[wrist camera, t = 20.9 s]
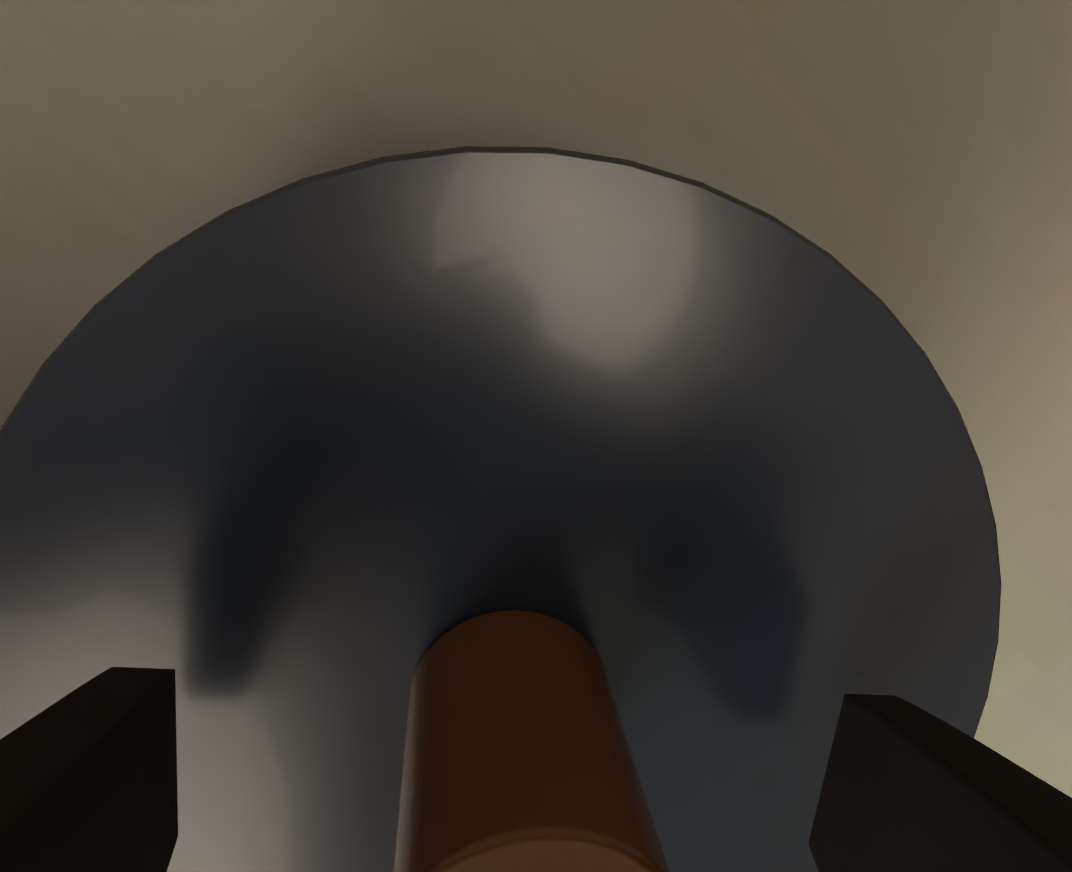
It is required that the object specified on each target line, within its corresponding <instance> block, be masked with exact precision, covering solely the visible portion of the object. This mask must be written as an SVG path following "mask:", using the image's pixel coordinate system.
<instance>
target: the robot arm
mask: <svg viewBox="0 0 1072 872" xmlns="http://www.w3.org/2000/svg"><path fill="white" fill-rule="evenodd" d="M177 838H178V796H177V739H176V683H175V669H158V668H131V667H111V668H109V669H108V670H106V671H104V672H102V673H101V674H99V675H97V676H96V677H94V678H92V679H91V680H89V681H88V682H86V683H85V684H83V685H81V686H80V687H78V688H77V689H75V690H74V691H72V692H71V693H69V694H68V695H66V696H65V697H63V698H62V699H60V700H59V701H57V702H56V703H54V704H53V705H51V706H50V707H48V708H47V709H45V710H44V711H42V712H41V713H39V714H38V715H36V716H35V717H33V718H32V719H30V720H29V721H27V722H26V723H24V724H23V725H21V726H20V727H18V728H17V729H15V730H14V731H12V732H11V733H9V734H8V735H6V736H5V737H3V738H2V739H0V872H167V869H168V866H169V863H170V860H171V857H172V854H173V851H174V848H175V845H176V841H177ZM808 844H809V847H810V850H811V853H812V855H813V858H814V861H815V864H816V867H817V869H818V872H1072V798H1071V797H1069V796H1067V795H1066V794H1064V793H1062V792H1061V791H1059V790H1057V789H1056V788H1054V787H1053V786H1051V785H1049V784H1048V783H1046V782H1044V781H1043V780H1041V779H1039V778H1038V777H1036V776H1035V775H1033V774H1031V773H1030V772H1028V771H1026V770H1025V769H1023V768H1021V767H1020V766H1018V765H1016V764H1015V763H1013V762H1012V761H1010V760H1008V759H1007V758H1005V757H1003V756H1002V755H1000V754H998V753H997V752H995V751H994V750H992V749H990V748H989V747H987V746H985V745H984V744H982V743H980V742H979V741H977V740H975V739H974V738H972V737H970V736H969V735H967V734H965V733H964V732H962V731H960V730H958V729H957V728H955V727H953V726H952V725H950V724H948V723H947V722H945V721H943V720H941V719H940V718H938V717H936V716H934V715H932V714H931V713H929V712H927V711H925V710H923V709H921V708H920V707H918V706H916V705H914V704H912V703H910V702H908V701H906V700H904V699H902V698H900V697H897V696H895V695H868V694H844V698H843V702H842V706H841V710H840V715H839V719H838V723H837V727H836V731H835V735H834V739H833V743H832V747H831V752H830V756H829V760H828V764H827V768H826V772H825V776H824V780H823V785H822V789H821V793H820V797H819V801H818V805H817V809H816V813H815V818H814V822H813V826H812V830H811V834H810V838H809V842H808Z"/></svg>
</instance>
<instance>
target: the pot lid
mask: <svg viewBox="0 0 1072 872" xmlns="http://www.w3.org/2000/svg"><path fill="white" fill-rule="evenodd" d="M1000 596H1001V576H1000V565H999V554H998V543H997V532H996V524H995V519H994V515H993V511H992V507H991V503H990V499H989V494H988V490H987V486H986V482H985V478H984V474H983V470H982V466H981V463H980V461H979V459H978V456H977V454H976V451H975V449H974V446H973V444H972V441H971V439H970V436H969V434H968V431H967V429H966V427H965V424H964V422H963V419H962V417H961V414H960V412H959V409H958V407H957V406H956V404H955V402H954V401H953V399H952V397H951V396H950V394H949V392H948V391H947V389H946V387H945V385H944V384H943V382H942V380H941V379H940V377H939V375H938V374H937V372H936V370H935V369H934V367H933V365H932V364H931V362H930V360H929V359H928V357H927V355H926V354H925V352H924V351H923V350H922V348H921V347H920V346H919V345H918V344H917V342H916V341H915V340H914V339H913V337H912V336H911V335H910V334H909V333H908V331H907V330H906V329H905V328H904V326H903V325H902V324H901V323H900V322H899V320H898V319H897V318H896V317H895V316H894V314H893V313H892V312H891V311H890V309H889V308H888V307H887V306H886V305H885V303H884V302H883V301H882V300H881V299H880V298H879V297H878V296H876V295H875V294H874V293H873V292H872V291H871V290H870V289H869V288H868V287H866V286H865V285H864V284H863V283H862V282H861V281H860V280H859V279H858V278H856V277H855V276H854V275H853V274H852V273H851V272H850V271H849V270H848V269H846V268H845V267H844V266H843V265H842V264H841V263H840V262H839V261H838V260H836V259H835V258H834V257H833V256H832V255H831V254H829V253H828V252H826V251H825V250H823V249H822V248H820V247H819V246H817V245H816V244H814V243H813V242H811V241H810V240H808V239H807V238H805V237H804V236H802V235H801V234H799V233H798V232H796V231H795V230H793V229H792V228H790V227H789V226H787V225H785V224H784V223H782V222H781V221H779V220H778V219H776V218H775V217H773V216H772V215H770V214H768V213H766V212H764V211H762V210H760V209H758V208H755V207H753V206H751V205H749V204H747V203H745V202H743V201H740V200H738V199H736V198H734V197H732V196H730V195H728V194H726V193H723V192H721V191H719V190H717V189H715V188H713V187H711V186H708V185H706V184H704V183H702V182H699V181H695V180H692V179H689V178H686V177H682V176H679V175H676V174H672V173H669V172H666V171H662V170H659V169H656V168H653V167H649V166H646V165H643V164H639V163H636V162H633V161H629V160H625V159H619V158H612V157H606V156H599V155H593V154H586V153H580V152H573V151H567V150H560V149H554V148H545V147H470V146H465V147H457V148H449V149H441V150H433V151H425V152H417V153H409V154H402V155H394V156H386V157H380V158H377V159H373V160H369V161H366V162H362V163H358V164H355V165H351V166H347V167H344V168H340V169H336V170H332V171H329V172H325V173H321V174H318V175H314V176H310V177H307V178H303V179H300V180H298V181H296V182H293V183H291V184H289V185H286V186H284V187H282V188H279V189H277V190H275V191H272V192H270V193H268V194H265V195H263V196H261V197H258V198H256V199H254V200H251V201H249V202H247V203H244V204H242V205H240V206H237V207H235V208H233V209H230V210H228V211H226V212H224V213H222V214H221V215H219V216H218V217H216V218H214V219H213V220H211V221H209V222H208V223H206V224H204V225H203V226H201V227H200V228H198V229H196V230H195V231H193V232H191V233H190V234H188V235H186V236H185V237H183V238H182V239H180V240H178V241H177V242H175V243H173V244H172V245H170V246H168V247H167V248H165V249H164V250H162V251H160V252H159V253H157V254H155V255H154V256H153V257H152V258H151V259H149V260H148V261H147V262H146V263H145V264H143V265H142V266H141V267H140V268H139V269H137V270H136V271H135V272H134V273H133V274H131V275H130V276H129V277H128V278H127V279H125V280H124V281H123V282H122V283H121V284H119V285H118V286H117V287H116V288H115V289H113V290H112V291H111V292H110V293H109V294H107V295H106V296H105V297H104V298H103V299H101V300H100V301H99V302H98V303H97V304H95V305H94V306H93V308H92V309H91V310H90V311H89V312H88V313H87V314H86V315H85V317H84V318H83V319H82V320H81V321H80V322H79V323H78V324H77V326H76V327H75V328H74V329H73V330H72V331H71V332H70V333H69V335H68V336H67V337H66V338H65V339H64V340H63V341H62V342H61V344H60V345H59V346H58V347H57V348H56V349H55V350H54V351H53V353H52V354H51V355H50V356H49V357H48V358H47V359H46V360H45V362H44V363H43V364H42V366H41V367H40V369H39V370H38V372H37V373H36V375H35V376H34V378H33V380H32V381H31V383H30V384H29V386H28V387H27V389H26V390H25V392H24V393H23V395H22V397H21V398H20V400H19V401H18V403H17V404H16V406H15V407H14V409H13V411H12V412H11V414H10V415H9V417H8V418H7V420H6V421H5V423H4V425H3V426H2V428H1V431H0V739H2V738H3V737H5V736H6V735H8V734H9V733H11V732H12V731H14V730H15V729H17V728H18V727H20V726H21V725H23V724H24V723H26V722H27V721H29V720H30V719H32V718H33V717H35V716H36V715H38V714H39V713H41V712H42V711H44V710H45V709H47V708H48V707H50V706H51V705H53V704H54V703H56V702H57V701H59V700H60V699H62V698H63V697H65V696H66V695H68V694H69V693H71V692H72V691H74V690H75V689H77V688H78V687H80V686H81V685H83V684H85V683H86V682H88V681H89V680H91V679H92V678H94V677H96V676H97V675H99V674H101V673H102V672H104V671H106V670H108V669H109V668H111V667H131V668H158V669H175V683H176V739H177V796H178V838H177V841H176V845H175V848H174V851H173V854H172V857H171V860H170V863H169V866H168V869H167V872H818V869H817V867H816V864H815V861H814V858H813V855H812V853H811V850H810V847H809V844H808V842H809V838H810V834H811V830H812V826H813V822H814V818H815V813H816V809H817V805H818V801H819V797H820V793H821V789H822V785H823V780H824V776H825V772H826V768H827V764H828V760H829V756H830V752H831V747H832V743H833V739H834V735H835V731H836V727H837V723H838V719H839V715H840V710H841V706H842V702H843V698H844V694H868V695H895V696H897V697H900V698H902V699H904V700H906V701H908V702H910V703H912V704H914V705H916V706H918V707H920V708H921V709H923V710H925V711H927V712H929V713H931V714H932V715H934V716H936V717H938V718H940V719H941V720H943V721H945V722H947V723H948V724H950V725H952V726H953V727H955V728H957V729H958V730H960V731H962V732H964V733H965V734H967V735H969V736H970V737H972V738H974V736H975V733H976V730H977V727H978V724H979V721H980V718H981V715H982V712H983V709H984V706H985V703H986V700H987V697H988V692H989V686H990V681H991V676H992V671H993V665H994V660H995V655H996V650H997V645H998V635H999V615H1000Z"/></svg>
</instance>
